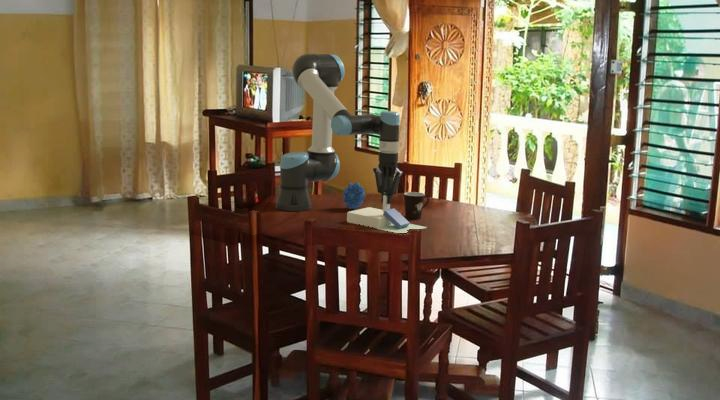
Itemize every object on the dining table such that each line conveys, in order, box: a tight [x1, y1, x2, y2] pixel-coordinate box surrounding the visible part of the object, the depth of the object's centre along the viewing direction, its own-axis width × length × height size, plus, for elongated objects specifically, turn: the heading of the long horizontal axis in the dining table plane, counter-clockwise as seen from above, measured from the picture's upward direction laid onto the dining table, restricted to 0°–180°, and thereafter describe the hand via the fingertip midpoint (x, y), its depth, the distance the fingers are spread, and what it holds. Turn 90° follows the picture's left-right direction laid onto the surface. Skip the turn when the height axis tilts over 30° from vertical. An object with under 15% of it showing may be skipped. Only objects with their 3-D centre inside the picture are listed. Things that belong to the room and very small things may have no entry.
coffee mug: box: [403, 191, 430, 221], centre depth 316 cm, size 12×9×10 cm
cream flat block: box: [346, 206, 402, 230], centre depth 306 cm, size 16×14×4 cm
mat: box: [377, 223, 428, 234], centre depth 298 cm, size 12×16×1 cm
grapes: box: [342, 182, 366, 211], centre depth 329 cm, size 12×7×12 cm, turn 53°
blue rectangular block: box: [383, 207, 411, 229], centre depth 299 cm, size 9×6×2 cm
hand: (386, 211), depth 302 cm, fingers closed
